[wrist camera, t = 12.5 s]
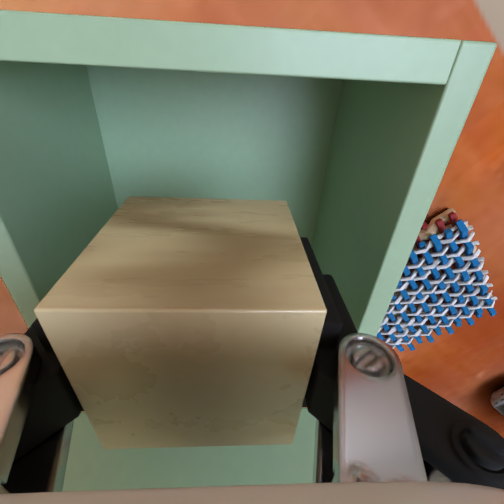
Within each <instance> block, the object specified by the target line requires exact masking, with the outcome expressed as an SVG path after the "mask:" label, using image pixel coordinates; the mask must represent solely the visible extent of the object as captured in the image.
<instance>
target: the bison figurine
mask: <svg viewBox="0 0 504 504" xmlns="http://www.w3.org/2000/svg"><path fill="white" fill-rule="evenodd" d="M490 401H491V404H492V406H493V407H494V408H495V409H496V410H497V411H498V412H499V413H500V414H502V415H503V416H504V386H503V387H502V388H500V389H499V390H497V391H495V392H493V393H492V395H491V400H490Z"/></svg>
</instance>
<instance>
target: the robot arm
mask: <svg viewBox="0 0 504 504" xmlns="http://www.w3.org/2000/svg"><path fill="white" fill-rule="evenodd" d="M300 239H301V242H302V244H303V247H304V250H305V253H306V255H307V258H308V261H309V263H310V266H311V269H312V272H313V274H314V277H315V280H316V282H317V285H318V288H319V290H320V293H321V296H322V299H323V301H324V304H325V307H326V309H327V313H326V317H325V321H324V325H323V329H322V332H321V336H320V340H319V344H318V348H317V352H316V355H315V359H314V363H313V367H312V371H311V374H310V378H309V382H308V386H307V390H306V394H305V397H304V401H303V405H302V407H307V409H308V412H309V413H310V414H311V415H313V416H314V417H315V418H316V430H315V448H314V465H313V483H303V484H270V485H237V486H207V487H178V488H149V489H121V490H93V491H66V492H62V490H63V484H64V478H65V472H66V466H67V460H68V454H69V448H70V442H71V436H72V430H73V424H74V419H76V418H77V417H78V416H79V415H80V413H81V411H84V409H83V408H82V406H81V404H80V402H79V400H78V398H77V396H76V394H75V392H74V390H73V388H72V386H71V384H70V382H69V380H68V378H67V376H66V374H65V372H64V370H63V368H62V366H61V364H60V362H59V360H58V358H57V356H56V354H55V352H54V350H53V348H52V346H51V344H50V342H49V340H48V338H47V336H46V334H45V333H44V331H43V329H42V327H41V325H40V323H39V321H38V319H37V318H36V320H35V321H34V322H33V323H32V325H31V327H30V328H29V329H28V330H27V332H26V333H25V334H24V335H23V334H17V333H15V334H5V335H1V336H0V504H504V439H503V438H502V437H501V436H500V435H499V434H498V433H497V432H496V431H494V430H493V429H492V428H490V427H489V426H487V425H486V424H484V423H483V422H481V421H480V420H478V419H476V418H475V417H473V416H471V415H470V414H468V413H467V412H465V411H463V410H462V409H460V408H458V407H457V406H455V405H453V404H452V403H450V402H449V401H447V400H445V399H444V398H442V397H440V396H439V395H437V394H436V393H434V392H432V391H431V390H429V389H427V388H426V387H424V386H423V385H421V384H419V383H418V382H416V381H414V380H413V379H411V378H410V377H408V376H406V375H405V374H403V370H402V365H401V362H400V359H399V357H398V355H397V354H396V352H395V351H394V350H393V348H392V347H391V346H389V345H388V344H387V343H386V342H385V341H383V340H381V339H379V338H377V337H376V336H373V335H369V334H366V333H358V332H357V329H356V327H355V325H354V323H353V321H352V318H351V316H350V314H349V312H348V310H347V307H346V305H345V303H344V301H343V298H342V296H341V294H340V292H339V290H338V287H337V285H336V283H335V281H334V279H333V277H332V276H331V275H330V274H322V272H321V269H320V267H319V264H318V262H317V259H316V257H315V255H314V252H313V250H312V247H311V245H310V242H309V240H308V238H307V237H300Z"/></svg>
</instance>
